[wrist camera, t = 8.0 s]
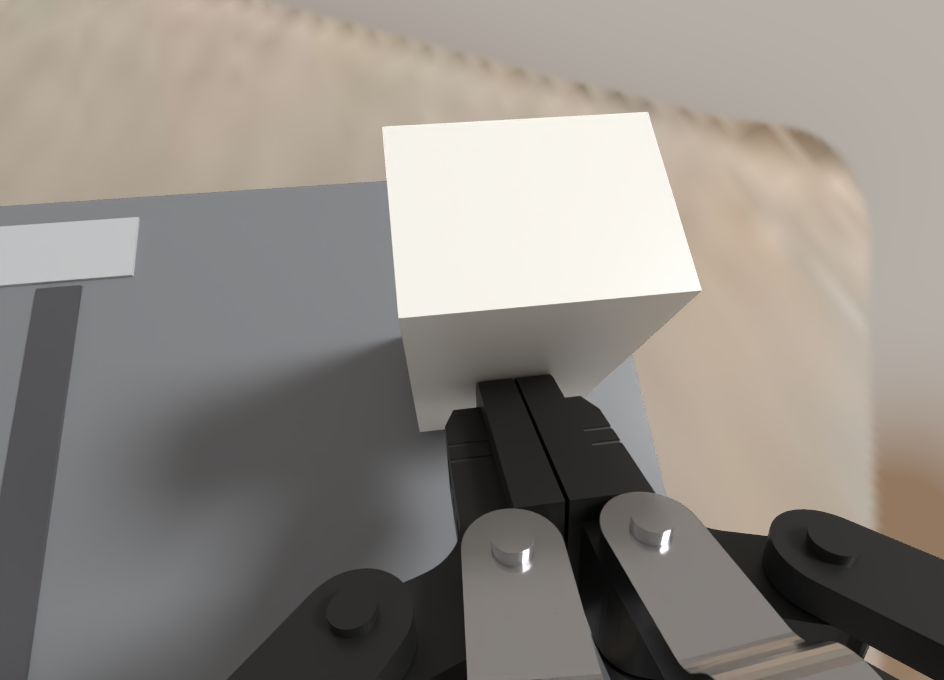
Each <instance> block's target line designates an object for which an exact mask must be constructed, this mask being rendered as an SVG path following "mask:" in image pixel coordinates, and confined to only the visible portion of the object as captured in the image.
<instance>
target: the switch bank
mask: <svg viewBox="0 0 944 680" xmlns="http://www.w3.org/2000/svg"><path fill="white" fill-rule="evenodd" d="M584 399H586V400H587V401H589V402H590V403H592V404H593V405H595V406H596V407H598V408H599V409H600V410H601V412H602V413H603V415H604V416H605V418H606V419H607V421H608V422H609V424H610V425H611V429H613V430H614V431H615V433H616V434H617V436H618V437H619V439H620V443H623V445H624V446H625V448H626V449H627V451H628V452H629V454H630V455H631V457H632V458H633V460H634V461H635V463H636V464H637V466H638V467H639V469H640V470H641V472H642V473H643V475H644V476H645V478H646V479H647V481H648V482H649V484H650V485H651V487H652V488H653V490H654V491H655V493H656V494H660V495H663V496H666V492H665V488H664V484H663V480H662V476H661V472H660V467H659V463H658V459H657V455H656V451H655V447H654V443H653V438H652V434H651V430H650V426H649V422H648V418H647V414H646V410H645V405H644V401H643V397H642V393H641V389H640V385H639V381H638V376H637V372H636V368H635V364H634V360H633V356H632V354H631V355H630V356H629V357H628V358H627V359H626V360H625V361H624V362H623V363H622V364H620V365H619V366H618V367H617V368H616V369H615V370H614V371H613V372H612V373H611V374H609V375H608V376H607V377H606V378H605V379H604V380H603V381H602V382H601V383H600V384H598V385H597V386H596V387H595V388H594V389H593V390H592V391H591V392H590V393H589V394H587V395H586V396H585V397H584ZM666 497H667V496H666ZM456 543H457V536H456V528H455V522H454V515H453V508H452V500H451V493H450V484H449V472H448V459H447V447H446V434H445V429H443V430H434V431H426V432H420V431H419V426H418V420H417V415H416V410H415V404H414V399H413V393H412V388H411V383H410V377H409V372H408V367H407V361H406V356H405V351H404V345H403V340H402V335H401V329H400V324H399V319H398V307H397V295H396V283H395V272H394V260H393V248H392V236H391V224H390V212H389V201H388V189H387V181H379V182H364V183H349V184H334V185H318V186H303V187H288V188H273V189H257V190H242V191H227V192H212V193H197V194H181V195H166V196H151V197H136V198H121V199H105V200H90V201H75V202H60V203H44V204H29V205H14V206H0V680H227V679H228V678H229V677H230V676H231V675H232V674H233V673H234V672H235V671H236V670H237V669H238V667H239V666H240V665H241V664H242V663H243V662H244V661H245V660H246V659H247V658H248V657H249V656H250V655H251V654H252V653H253V652H254V651H255V650H256V649H257V648H258V647H259V646H260V645H261V644H262V643H263V642H264V641H265V640H266V639H267V638H268V637H269V636H270V635H271V634H272V633H273V632H274V631H275V630H276V629H277V628H278V627H279V626H280V625H281V624H282V623H283V621H284V620H285V619H286V618H287V617H288V616H289V615H290V614H291V613H292V612H293V611H294V610H295V609H296V608H297V607H298V606H299V605H300V604H301V603H302V602H303V601H304V600H305V599H306V598H307V597H308V596H309V595H310V594H311V593H312V592H313V591H314V590H315V589H316V588H317V587H319V586H320V585H321V584H323V583H324V582H325V581H327V580H328V579H330V578H332V577H334V576H336V575H338V574H341V573H344V572H346V571H350V570H355V569H363V568H371V569H379V570H383V571H386V572H389V573H391V574H393V575H394V576H396V577H397V578H399V579H400V580H401V581H402V582H403V583H404V582H406V581H408V580H410V579H413V578H415V577H417V576H419V575H422V574H424V573H426V572H428V571H429V570H431V569H433V568H434V567H436V566H437V565H439V564H440V563H441V562H442V561H443V560H444V559H446V558H447V556H448V555H449V554H450V553H451V551H452V550H453V548H454V547H455V545H456ZM585 617H586V616H585ZM586 621H587V619H586ZM587 624H588V622H587ZM588 628H589V631H590V635H591V630H590V627H589V624H588Z"/></svg>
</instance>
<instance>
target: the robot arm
mask: <svg viewBox="0 0 944 680" xmlns="http://www.w3.org/2000/svg"><path fill="white" fill-rule="evenodd" d="M445 434H446V447H447V459H448V472H449V484H450V493H451V500H452V508H453V515H454V522H455V528H456V536H457V543H456V545H455V547H454V548H453V550H452V551H451V553H450V554H449V555H448V556H447V558H446V559H444V560H443V561H442V562H441V563H440V564H439V565H437V566H436V567H434V568H433V569H431V570H429V571H428V572H426V573H424V574H422V575H419V576H417V577H415V578H413V579H410V580H408V581H406V582H404V583H403V582H402V581H401V580H400V579H399V578H397V577H396V576H394V575H393V574H391V573H389V572H386V571H383V570H379V569H371V568H363V569H355V570H350V571H346V572H344V573H341V574H338V575H336V576H334V577H332V578H330V579H328V580H327V581H325V582H324V583H323V584H321V585H320V586H319V587H317V588H316V589H315V590H314V591H313V592H312V593H311V594H310V595H309V596H308V597H307V598H306V599H305V600H304V601H303V602H302V603H301V604H300V605H299V606H298V607H297V608H296V609H295V610H294V611H293V612H292V613H291V614H290V615H289V616H288V617H287V618H286V619H285V620H284V621H283V623H282V624H281V625H280V626H279V627H278V628H277V629H276V630H275V631H274V632H273V633H272V634H271V635H270V636H269V637H268V638H267V639H266V640H265V641H264V642H263V643H262V644H261V645H260V646H259V647H258V648H257V649H256V650H255V651H254V652H253V653H252V654H251V655H250V656H249V657H248V658H247V659H246V660H245V661H244V662H243V663H242V664H241V665H240V666H239V667H238V669H237V670H236V671H235V672H234V673H233V674H232V675H231V676H230V677H229V678H228V679H227V680H899V679H897V678H895V677H893V676H891V675H889V674H888V673H886V672H884V671H882V670H880V669H879V668H877V667H875V666H873V665H871V664H870V663H868V662H866V661H864V657H865V655H866V653H867V650H868V648H869V646H872V647H873V648H875V649H877V650H879V651H881V652H883V653H885V654H887V655H888V656H890V657H892V658H894V659H896V660H898V661H900V662H902V663H903V664H906V665H907V666H909V667H911V668H913V669H915V670H916V671H918V672H920V673H922V674H924V675H926V676H928V677H930V678H931V679H933V680H944V560H943V559H940V558H938V557H936V556H933V555H931V554H928V553H926V552H923V551H921V550H919V549H916V548H914V547H911V546H909V545H907V544H904V543H902V542H899V541H897V540H895V539H892V538H890V537H887V536H885V535H883V534H880V533H878V532H875V531H873V530H871V529H868V528H866V527H863V526H861V525H859V524H856V523H854V522H851V521H849V520H846V519H844V518H841V517H839V516H836V515H833V514H829V513H826V512H821V511H816V510H805V509H802V510H791V511H787V512H784V513H782V514H780V515H779V516H777V517H776V518H775V519H774V520H773V521H772V524H771V526H770V530H769V534H768V536H761V535H753V534H745V533H736V532H728V531H721V530H715V529H710V528H707V527H705V526H704V525H703V524H702V522H701V521H700V520H699V519H698V518H697V516H696V515H695V514H694V513H693V512H692V511H691V510H689V509H688V508H687V507H685V506H684V505H682V504H681V503H679V502H677V501H675V500H673V499H671V498H669V497H666V496H663V495H660V494H656V493H655V491H654V490H653V488H652V487H651V485H650V484H649V482H648V481H647V479H646V478H645V476H644V475H643V473H642V472H641V470H640V469H639V467H638V466H637V464H636V463H635V461H634V460H633V458H632V457H631V455H630V454H629V452H628V451H627V449H626V448H625V446H624V445H623V443H620V439H619V437H618V436H617V434H616V433H615V431H614V430H613V429H611V425H610V424H609V422H608V421H607V419H606V418H605V416H604V415H603V413H602V412H601V410H600V409H599V408H598V407H596V406H595V405H593V404H592V403H590V402H589V401H587V400H586V399H584V398H583V397H581V396H574V397H564V395H563V393H562V392H561V390H560V388H559V386H558V385H557V383H556V381H555V379H554V378H553V376H552V375H550V374H549V375H540V376H530V377H521V378H515V379H514V380H513V379H503V380H493V381H484V382H477V383H476V408H467V409H458V410H453V412H452V414H451V416H450V417H449V419H448V421H447V423H446V425H445ZM585 616H586V617H585ZM586 619H587V621H586ZM587 622H588V624H589V627H590V630H591V635H590V631H589V628H588V624H587Z"/></svg>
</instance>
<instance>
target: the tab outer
mask: <svg viewBox="0 0 944 680" xmlns="http://www.w3.org/2000/svg"><path fill="white" fill-rule="evenodd" d="M382 130H383V141H384V153H385V165H386V177H387V189H388V201H389V212H390V224H391V236H392V248H393V260H394V272H395V283H396V295H397V307H398V319H399V324H400V329H401V335H402V340H403V345H404V351H405V356H406V361H407V367H408V372H409V377H410V383H411V388H412V393H413V399H414V404H415V410H416V415H417V420H418V426H419V431H420V432H426V431H434V430H443V429H445V425H446V423H447V421H448V419H449V417H450V416H451V414H452V412H453V410H458V409H467V408H476V383H477V382H484V381H493V380H503V379H513V380H514V379H515V378H521V377H530V376H540V375H549V374H550V375H552V376H553V378H554V379H555V381H556V383H557V385H558V386H559V388H560V390H561V392H562V393H563V395H564V397H574V396H581V397H583V398H584V397H585V396H586V395H587V394H589V393H590V392H591V391H592V390H593V389H594V388H595V387H596V386H597V385H598V384H600V383H601V382H602V381H603V380H604V379H605V378H606V377H607V376H608V375H609V374H611V373H612V372H613V371H614V370H615V369H616V368H617V367H618V366H619V365H620V364H622V363H623V362H624V361H625V360H626V359H627V358H628V357H629V356H630V355H631V354H632V353H634V352H635V351H636V350H637V349H638V348H639V347H640V346H641V345H642V344H643V343H645V342H646V341H647V340H648V339H649V338H650V337H651V336H652V335H653V334H654V333H656V332H657V331H658V330H659V329H660V328H661V327H662V326H663V325H664V324H665V323H667V322H668V321H669V320H670V319H671V318H672V317H673V316H674V315H675V314H676V313H677V312H679V311H680V310H681V309H682V308H683V307H684V306H685V305H686V304H687V303H688V302H690V301H691V300H692V299H693V298H694V297H695V296H696V295H697V294H698V293H699V292H701V291H702V289H701V286H700V283H699V280H698V276H697V273H696V270H695V266H694V263H693V260H692V256H691V253H690V250H689V247H688V243H687V240H686V237H685V233H684V230H683V227H682V223H681V220H680V217H679V213H678V210H677V207H676V204H675V200H674V197H673V194H672V190H671V187H670V184H669V180H668V177H667V174H666V171H665V167H664V164H663V161H662V157H661V154H660V151H659V147H658V144H657V141H656V138H655V134H654V131H653V128H652V124H651V121H650V118H649V114H648V112H640V113H622V114H604V115H586V116H567V117H549V118H531V119H513V120H495V121H477V122H459V123H441V124H423V125H405V126H387V127H382Z"/></svg>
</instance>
